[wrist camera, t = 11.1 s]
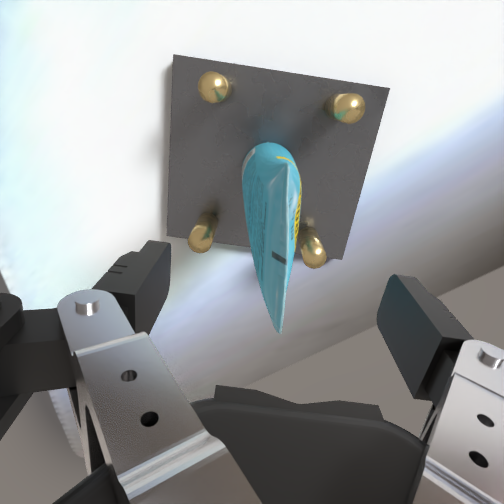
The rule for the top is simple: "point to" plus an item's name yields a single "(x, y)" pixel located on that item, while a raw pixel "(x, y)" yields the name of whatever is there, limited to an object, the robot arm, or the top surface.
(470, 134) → the top surface
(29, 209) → the top surface
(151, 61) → the top surface
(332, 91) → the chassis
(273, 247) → the tube
